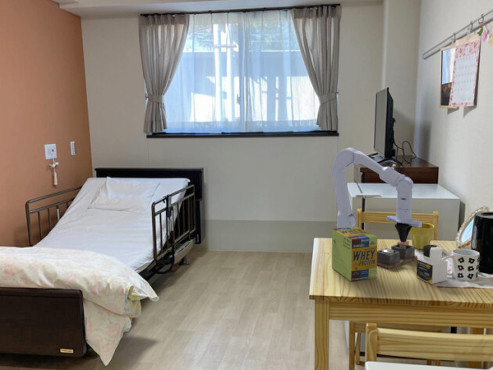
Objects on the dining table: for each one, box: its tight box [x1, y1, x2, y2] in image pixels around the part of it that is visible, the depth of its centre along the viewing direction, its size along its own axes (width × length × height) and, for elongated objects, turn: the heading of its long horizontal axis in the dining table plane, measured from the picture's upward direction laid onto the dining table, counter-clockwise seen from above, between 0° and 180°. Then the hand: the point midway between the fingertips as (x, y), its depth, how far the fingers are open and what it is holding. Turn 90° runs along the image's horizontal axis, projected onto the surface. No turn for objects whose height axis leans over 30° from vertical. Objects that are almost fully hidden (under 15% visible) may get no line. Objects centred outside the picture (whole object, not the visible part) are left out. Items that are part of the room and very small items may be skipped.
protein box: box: [331, 226, 378, 282], centre depth 158 cm, size 10×15×16 cm
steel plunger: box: [381, 248, 394, 255], centre depth 166 cm, size 4×4×4 cm
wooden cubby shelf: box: [377, 243, 418, 270], centre depth 169 cm, size 18×8×5 cm, turn 126°
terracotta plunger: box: [396, 239, 410, 249], centre depth 172 cm, size 4×4×4 cm
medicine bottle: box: [416, 244, 448, 285], centre depth 150 cm, size 7×7×12 cm
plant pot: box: [409, 222, 435, 250], centre depth 185 cm, size 10×10×10 cm
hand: (403, 241), depth 172 cm, fingers closed, pressing on terracotta plunger
